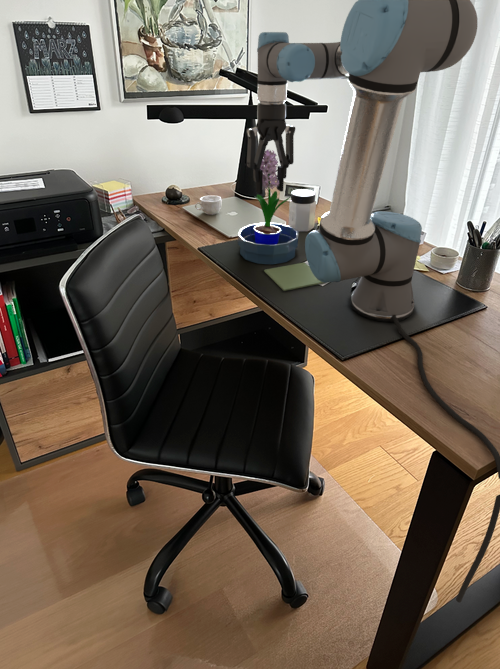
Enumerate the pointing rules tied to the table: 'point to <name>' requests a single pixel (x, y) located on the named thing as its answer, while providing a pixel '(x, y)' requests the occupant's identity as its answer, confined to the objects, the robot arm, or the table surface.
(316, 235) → the robot arm
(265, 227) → the hyacinth
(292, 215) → the jar
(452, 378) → the table surface
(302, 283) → the mat
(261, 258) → the bowl
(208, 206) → the teacup
